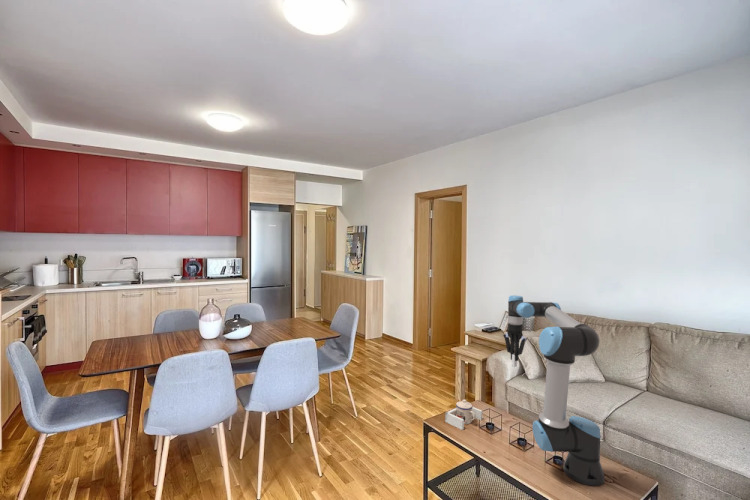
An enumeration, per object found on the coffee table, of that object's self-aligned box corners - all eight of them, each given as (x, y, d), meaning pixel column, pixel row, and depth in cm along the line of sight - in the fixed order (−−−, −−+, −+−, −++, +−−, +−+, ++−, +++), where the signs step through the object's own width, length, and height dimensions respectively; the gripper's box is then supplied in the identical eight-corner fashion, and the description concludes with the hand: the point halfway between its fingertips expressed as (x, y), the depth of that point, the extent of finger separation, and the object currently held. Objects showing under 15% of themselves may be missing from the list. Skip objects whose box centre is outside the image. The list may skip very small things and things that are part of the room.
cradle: (482, 419, 203) (482, 410, 203) (462, 429, 190) (462, 420, 190) (465, 412, 211) (465, 403, 211) (444, 421, 199) (445, 412, 199)
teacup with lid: (452, 419, 202) (452, 398, 202) (463, 415, 207) (463, 395, 207) (468, 428, 192) (469, 406, 192) (479, 424, 197) (480, 403, 197)
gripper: (529, 324, 195) (529, 367, 195) (507, 320, 205) (506, 361, 205) (523, 326, 190) (522, 370, 190) (500, 322, 200) (499, 364, 200)
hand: (514, 366), depth 198 cm, fingers closed
